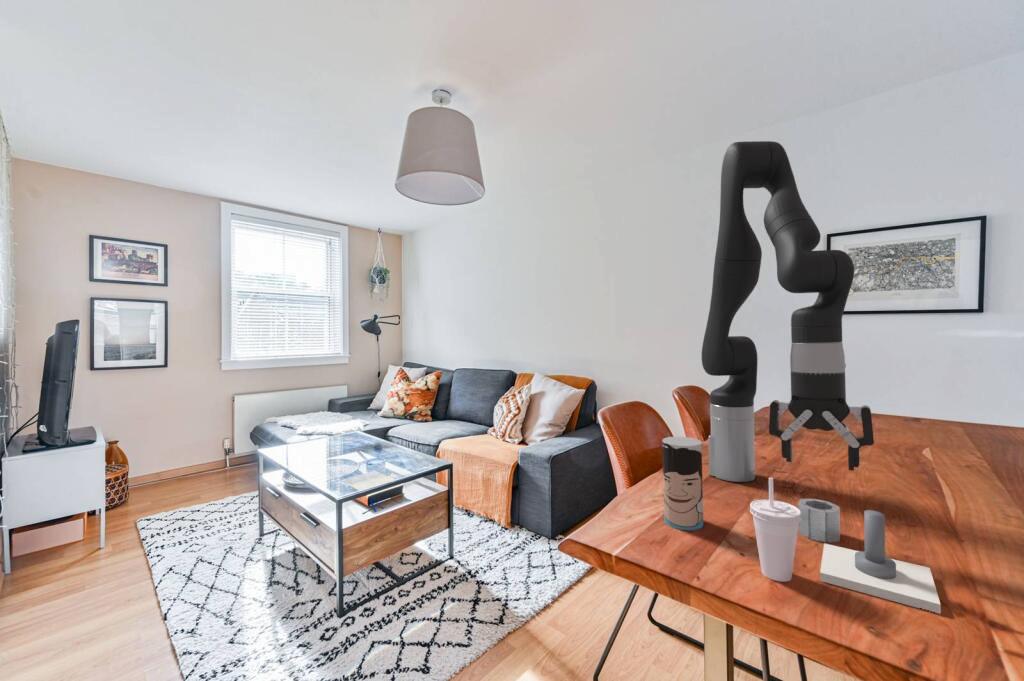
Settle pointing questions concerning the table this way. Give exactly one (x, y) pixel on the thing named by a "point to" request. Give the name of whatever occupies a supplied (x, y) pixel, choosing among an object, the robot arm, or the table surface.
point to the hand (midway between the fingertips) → (819, 465)
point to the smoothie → (776, 535)
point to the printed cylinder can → (682, 482)
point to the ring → (819, 520)
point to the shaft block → (879, 570)
